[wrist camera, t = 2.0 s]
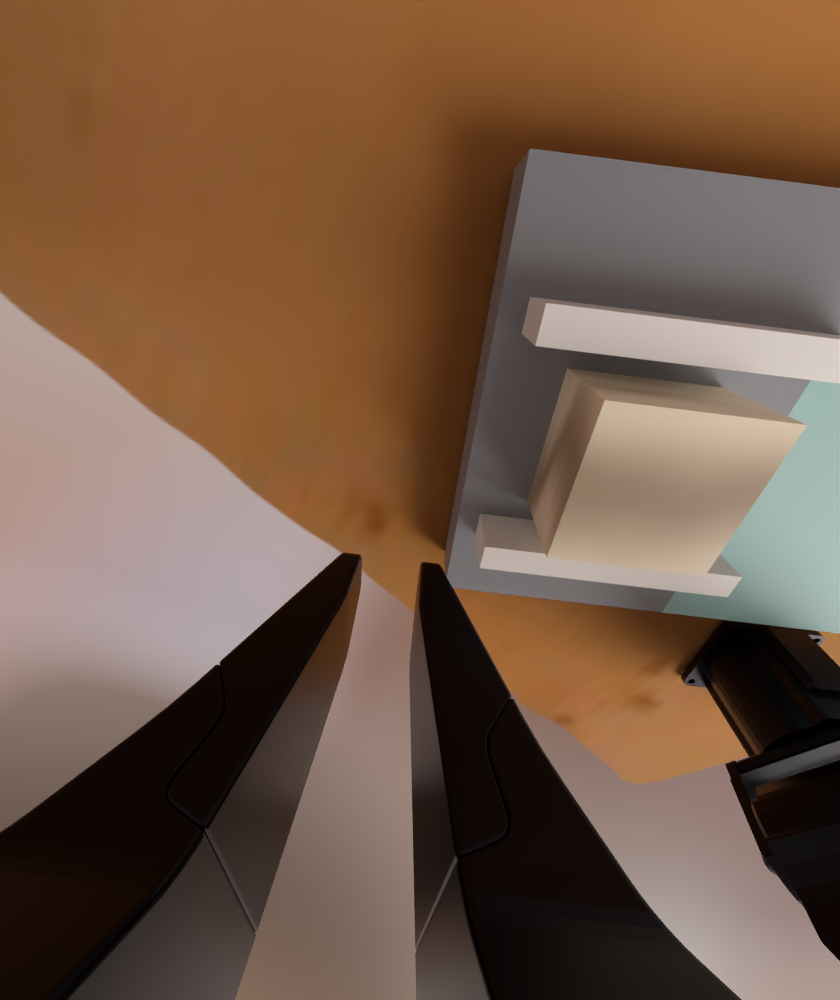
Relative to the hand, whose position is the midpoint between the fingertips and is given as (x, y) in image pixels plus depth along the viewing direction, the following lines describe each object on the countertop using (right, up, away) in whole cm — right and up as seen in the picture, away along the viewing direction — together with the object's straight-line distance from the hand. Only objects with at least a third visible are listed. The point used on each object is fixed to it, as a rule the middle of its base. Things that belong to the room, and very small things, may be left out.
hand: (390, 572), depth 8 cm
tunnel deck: (+19, +4, +10) cm, 22 cm away
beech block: (+9, +4, +8) cm, 12 cm away
